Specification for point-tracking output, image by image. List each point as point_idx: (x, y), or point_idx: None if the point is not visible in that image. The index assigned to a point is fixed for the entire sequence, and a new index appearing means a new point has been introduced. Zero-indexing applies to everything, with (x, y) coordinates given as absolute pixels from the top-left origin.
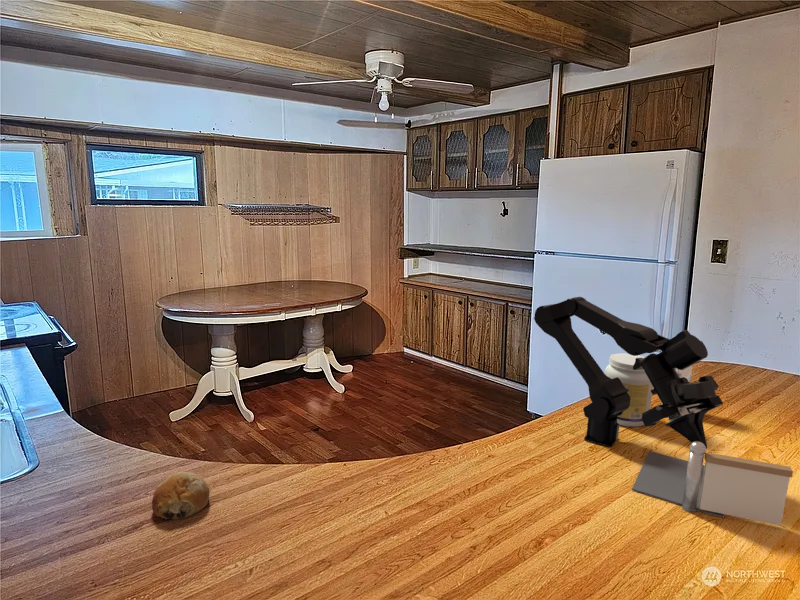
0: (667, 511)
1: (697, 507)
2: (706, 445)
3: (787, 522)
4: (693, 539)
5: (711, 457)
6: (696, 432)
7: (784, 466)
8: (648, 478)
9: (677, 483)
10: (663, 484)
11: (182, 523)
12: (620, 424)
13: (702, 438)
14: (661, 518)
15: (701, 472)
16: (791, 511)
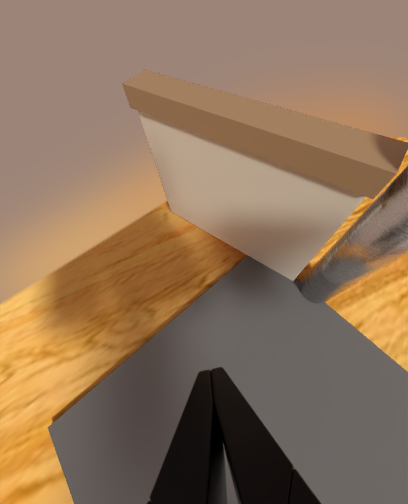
0: (373, 292)
1: (293, 283)
2: (198, 380)
3: (146, 221)
4: (359, 212)
5: (385, 138)
6: (277, 476)
7: (137, 84)
8: (368, 473)
9: (274, 404)
10: (328, 412)
11: None
12: None
13: (213, 419)
14: (400, 273)
15: (356, 220)
16: (102, 244)
